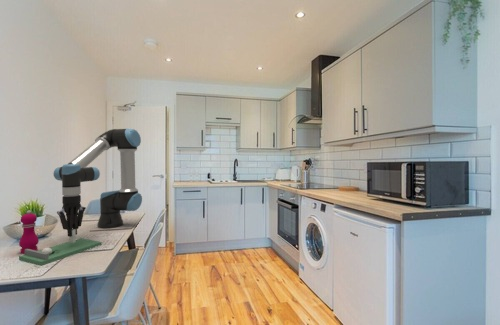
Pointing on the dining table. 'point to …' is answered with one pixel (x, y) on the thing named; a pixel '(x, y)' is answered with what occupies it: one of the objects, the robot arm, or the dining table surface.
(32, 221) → the pepper mill
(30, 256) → the putting mat
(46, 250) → the ball
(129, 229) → the dining table surface
